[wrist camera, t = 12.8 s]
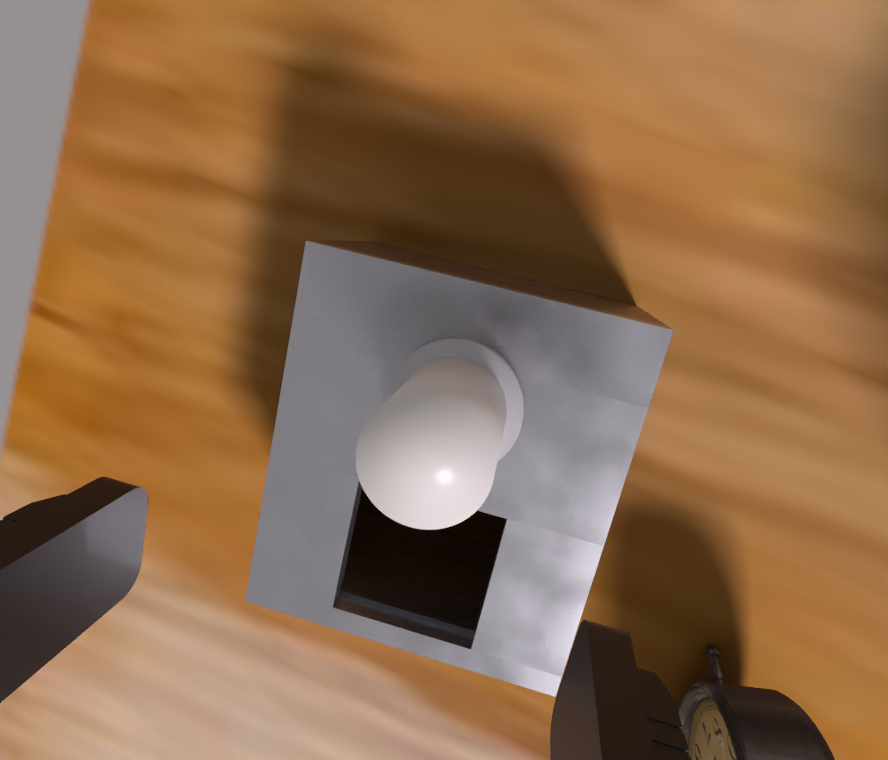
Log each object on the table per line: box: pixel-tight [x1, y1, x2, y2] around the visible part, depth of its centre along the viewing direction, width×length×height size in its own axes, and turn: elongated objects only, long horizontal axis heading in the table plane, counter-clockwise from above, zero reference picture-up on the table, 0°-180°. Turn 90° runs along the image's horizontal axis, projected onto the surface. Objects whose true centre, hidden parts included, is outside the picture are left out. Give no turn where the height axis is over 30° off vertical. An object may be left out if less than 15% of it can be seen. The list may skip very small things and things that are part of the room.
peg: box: [356, 337, 524, 530], centre depth 22 cm, size 5×5×10 cm
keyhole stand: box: [246, 241, 674, 696], centre depth 29 cm, size 16×14×9 cm
